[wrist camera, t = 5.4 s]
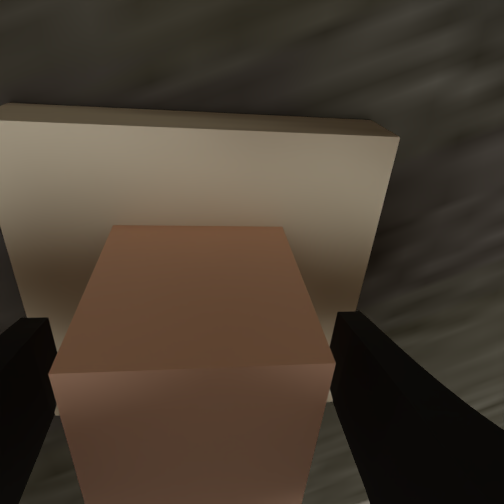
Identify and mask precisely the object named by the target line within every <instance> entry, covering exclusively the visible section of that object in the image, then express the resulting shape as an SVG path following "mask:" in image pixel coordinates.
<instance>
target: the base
mask: <svg viewBox="0 0 504 504" xmlns="http://www.w3.org/2000/svg"><path fill="white" fill-rule="evenodd" d="M399 140H400V137H399V136H397V135H396V134H394V133H392V132H390V131H389V130H387V129H385V128H384V127H382V126H380V125H378V124H377V123H375V122H373V121H372V120H361V119H340V118H319V117H298V116H277V115H256V114H235V113H214V112H193V111H172V110H151V109H130V108H109V107H88V106H67V105H46V104H24V103H6V104H4V105H2V106H0V227H1V230H2V234H3V237H4V240H5V244H6V247H7V251H8V254H9V258H10V261H11V264H12V268H13V271H14V275H15V278H16V282H17V285H18V288H19V292H20V295H21V299H22V302H23V306H24V309H25V312H26V316H27V318H40V317H48V318H49V322H50V326H51V330H52V334H53V338H54V342H55V345H56V349H57V353H58V351H59V348H60V346H61V344H62V341H63V339H64V337H65V334H66V332H67V330H68V328H69V325H70V323H71V321H72V318H73V316H74V314H75V311H76V309H77V307H78V305H79V302H80V300H81V298H82V295H83V293H84V291H85V289H86V286H87V284H88V282H89V279H90V277H91V275H92V272H93V270H94V268H95V266H96V263H97V261H98V259H99V256H100V254H101V252H102V249H103V247H104V245H105V243H106V240H107V238H108V236H109V233H110V231H111V229H112V226H113V225H154V226H259V227H283V230H284V232H285V235H286V237H287V240H288V242H289V245H290V247H291V250H292V253H293V255H294V258H295V260H296V263H297V265H298V268H299V270H300V273H301V276H302V278H303V281H304V283H305V286H306V288H307V291H308V293H309V296H310V298H311V301H312V304H313V306H314V309H315V311H316V314H317V316H318V319H319V321H320V324H321V327H322V329H323V332H324V334H325V337H326V339H327V342H328V344H329V347H330V343H331V338H332V334H333V329H334V325H335V321H336V316H337V312H348V311H356V307H357V303H358V300H359V296H360V292H361V288H362V284H363V280H364V276H365V272H366V268H367V265H368V261H369V257H370V253H371V249H372V245H373V241H374V237H375V233H376V230H377V226H378V222H379V218H380V214H381V210H382V206H383V202H384V198H385V195H386V191H387V187H388V183H389V179H390V175H391V171H392V167H393V163H394V160H395V156H396V152H397V148H398V144H399ZM332 401H333V399H332V395H331V391H330V390H329V394H328V398H327V402H332ZM55 415H56V416H59V415H60V414H59V410H58V407H57V405H56V409H55Z"/></svg>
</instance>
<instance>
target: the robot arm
mask: <svg viewBox="0 0 504 504" xmlns="http://www.w3.org/2000/svg"><path fill="white" fill-rule="evenodd" d="M330 349H331V352H332V355H333V357H334V360H335V362H336V365H335V369H334V373H333V377H332V381H331V385H330V391H331V395H332V399H333V403H334V406H335V409H336V412H337V414H338V417H339V420H340V423H341V425H342V428H343V431H344V433H345V436H346V439H347V441H348V444H349V447H350V449H351V452H352V455H353V457H354V460H355V463H356V465H357V468H358V471H359V473H360V476H361V479H362V481H363V484H364V487H365V489H366V492H367V495H368V498H369V501H370V504H504V430H503V429H501V428H500V427H498V426H497V425H496V424H494V423H493V422H491V421H490V420H488V419H487V418H486V417H484V416H483V415H481V414H480V413H479V412H477V411H476V410H475V409H473V408H472V407H471V406H469V405H468V404H467V403H465V402H464V401H463V400H461V399H460V398H459V397H458V396H456V395H455V394H454V393H453V392H451V391H450V390H449V389H448V388H446V387H445V386H444V385H443V384H441V383H440V382H439V381H438V380H437V379H435V378H434V377H433V376H432V375H431V374H429V373H428V372H427V371H426V370H425V369H424V368H422V367H421V366H420V365H419V364H418V363H417V362H415V361H414V360H413V359H412V358H411V357H410V356H409V355H408V354H406V353H405V352H404V351H403V350H402V349H401V348H400V347H399V346H398V345H396V344H395V343H394V342H393V341H392V340H391V339H390V338H389V337H388V336H387V335H385V334H384V333H383V332H382V331H381V330H380V329H379V328H378V327H377V326H376V325H375V324H374V323H372V322H371V321H370V320H369V319H368V318H367V317H366V316H365V315H363V314H362V313H361V312H360V311H348V312H337V316H336V321H335V325H334V329H333V334H332V338H331V343H330ZM56 355H57V349H56V345H55V342H54V338H53V334H52V330H51V326H50V322H49V318H48V317H40V318H21V319H19V320H18V321H17V322H15V323H14V324H13V325H12V326H11V327H9V328H8V329H7V330H6V331H5V332H3V333H2V334H1V335H0V504H19V501H20V499H21V496H22V494H23V491H24V489H25V486H26V484H27V482H28V479H29V477H30V474H31V472H32V469H33V467H34V464H35V462H36V459H37V457H38V454H39V452H40V449H41V447H42V444H43V442H44V439H45V437H46V434H47V432H48V429H49V427H50V424H51V422H52V419H53V416H54V412H55V409H56V405H57V403H56V400H55V396H54V393H53V389H52V386H51V382H50V379H49V375H48V374H49V371H50V369H51V367H52V364H53V362H54V360H55V357H56Z"/></svg>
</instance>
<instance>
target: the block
mask: <svg viewBox="0 0 504 504" xmlns="http://www.w3.org/2000/svg"><path fill="white" fill-rule="evenodd" d="M335 365H336V362H335V360H334V357H333V355H332V352H331V349H330V347H329V344H328V342H327V339H326V337H325V334H324V332H323V329H322V327H321V324H320V321H319V319H318V316H317V314H316V311H315V309H314V306H313V304H312V301H311V298H310V296H309V293H308V291H307V288H306V286H305V283H304V281H303V278H302V276H301V273H300V270H299V268H298V265H297V263H296V260H295V258H294V255H293V253H292V250H291V247H290V245H289V242H288V240H287V237H286V235H285V232H284V230H283V227H259V226H154V225H113V226H112V229H111V231H110V233H109V236H108V238H107V240H106V243H105V245H104V247H103V249H102V252H101V254H100V256H99V259H98V261H97V263H96V266H95V268H94V270H93V272H92V275H91V277H90V279H89V282H88V284H87V286H86V289H85V291H84V293H83V295H82V298H81V300H80V302H79V305H78V307H77V309H76V311H75V314H74V316H73V318H72V321H71V323H70V325H69V328H68V330H67V332H66V334H65V337H64V339H63V341H62V344H61V346H60V348H59V351H58V353H57V355H56V357H55V360H54V362H53V364H52V367H51V369H50V371H49V374H48V375H49V379H50V382H51V386H52V389H53V393H54V396H55V400H56V403H57V407H58V410H59V414H60V417H61V421H62V425H63V428H64V432H65V435H66V439H67V442H68V446H69V449H70V453H71V456H72V460H73V463H74V467H75V470H76V474H77V477H78V481H79V485H80V488H81V492H82V495H83V499H84V502H85V504H302V500H303V496H304V491H305V487H306V483H307V479H308V475H309V471H310V467H311V463H312V459H313V455H314V451H315V447H316V443H317V438H318V434H319V430H320V426H321V422H322V418H323V414H324V410H325V406H326V402H327V398H328V394H329V390H330V385H331V381H332V377H333V373H334V369H335Z"/></svg>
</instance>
